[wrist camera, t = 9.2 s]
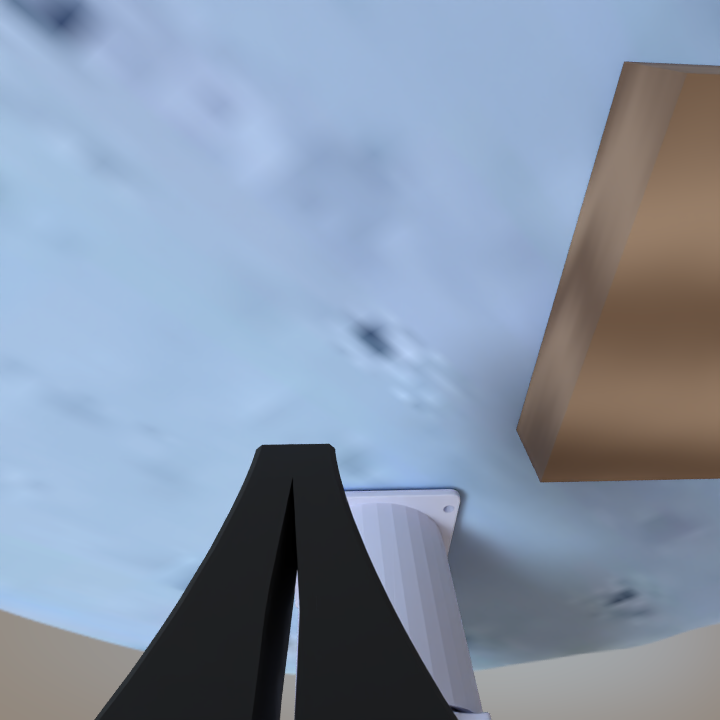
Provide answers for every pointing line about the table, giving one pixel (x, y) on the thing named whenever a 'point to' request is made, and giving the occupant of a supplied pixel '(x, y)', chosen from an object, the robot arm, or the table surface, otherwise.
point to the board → (638, 296)
